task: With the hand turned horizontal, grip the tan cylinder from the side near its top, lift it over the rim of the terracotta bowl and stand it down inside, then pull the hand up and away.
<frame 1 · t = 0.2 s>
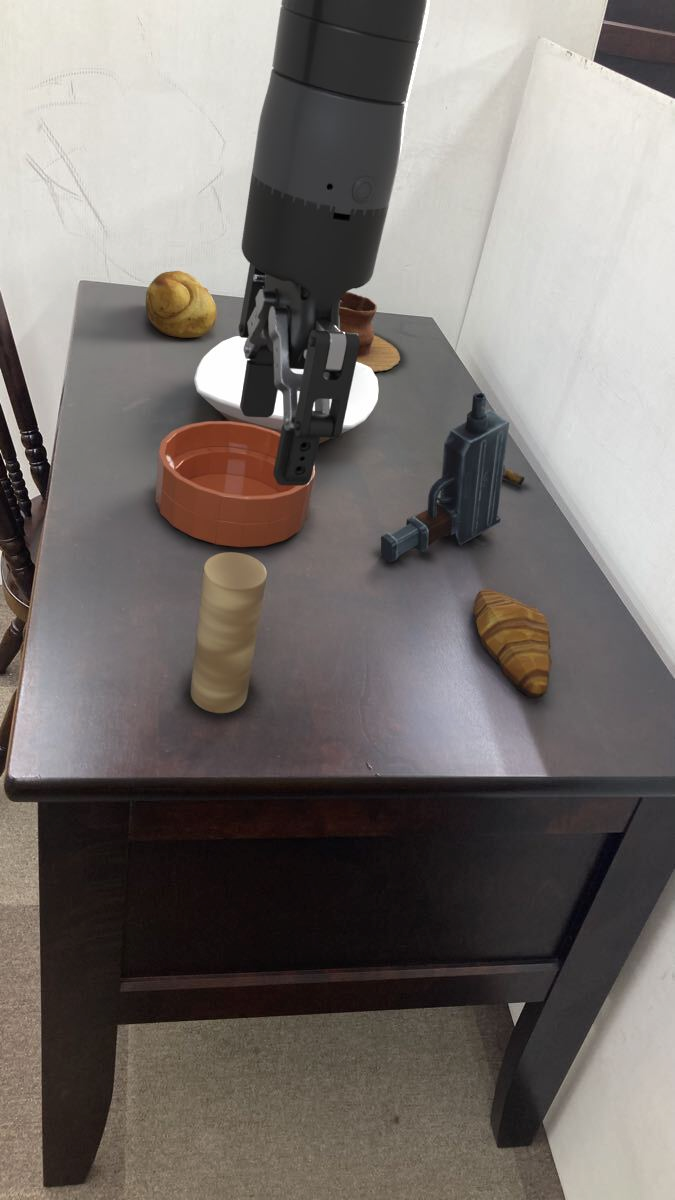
hand: (272, 446, 57), 22 cm above the table, tool pointing down, fingers open, 8 cm apart
clay bowl: (231, 509, 91), on the table
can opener: (489, 471, 108), on the table
bowl: (283, 418, 110), on the table
croissant: (505, 652, 81), on the table
bread roll: (178, 326, 127), on the table
ceramic pot: (341, 348, 132), on the table
tan cylinder: (218, 693, 70), on the table
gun: (436, 544, 93), on the table
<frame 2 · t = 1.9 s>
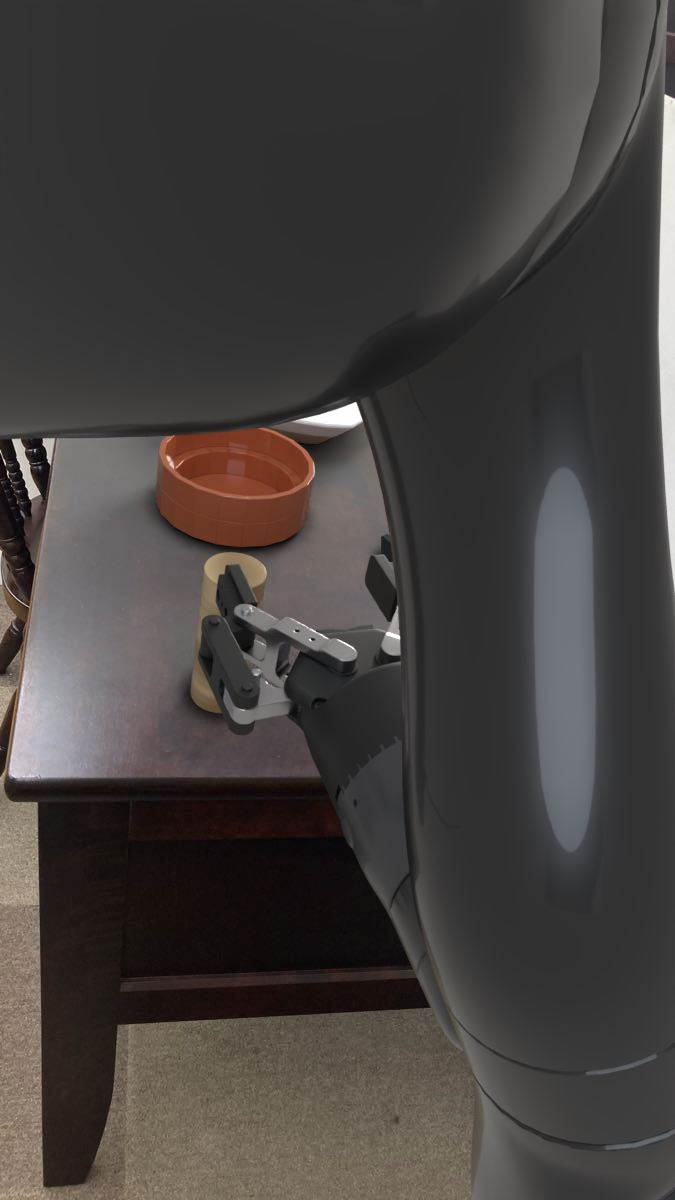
hand: (303, 571, 50), 20 cm above the table, tool horizontal, fingers open, 8 cm apart
nothing on the table moved.
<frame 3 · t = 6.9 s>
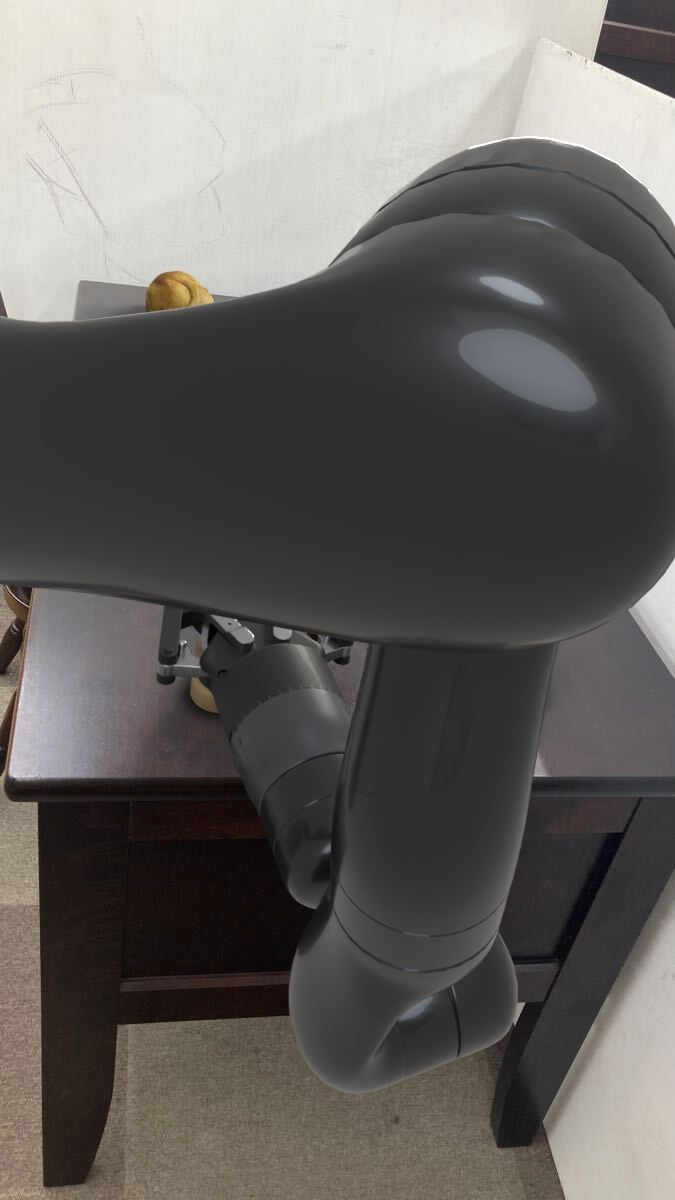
hand: (222, 570, 66), 10 cm above the table, tool horizontal, fingers closed on tan cylinder, 4 cm apart
tan cylinder: (218, 693, 70), on the table, touching gripper
everything else where it was.
when the fingers open (11 cm above the table, at t = 16.2 s): tan cylinder stays where it is, resting on clay bowl.
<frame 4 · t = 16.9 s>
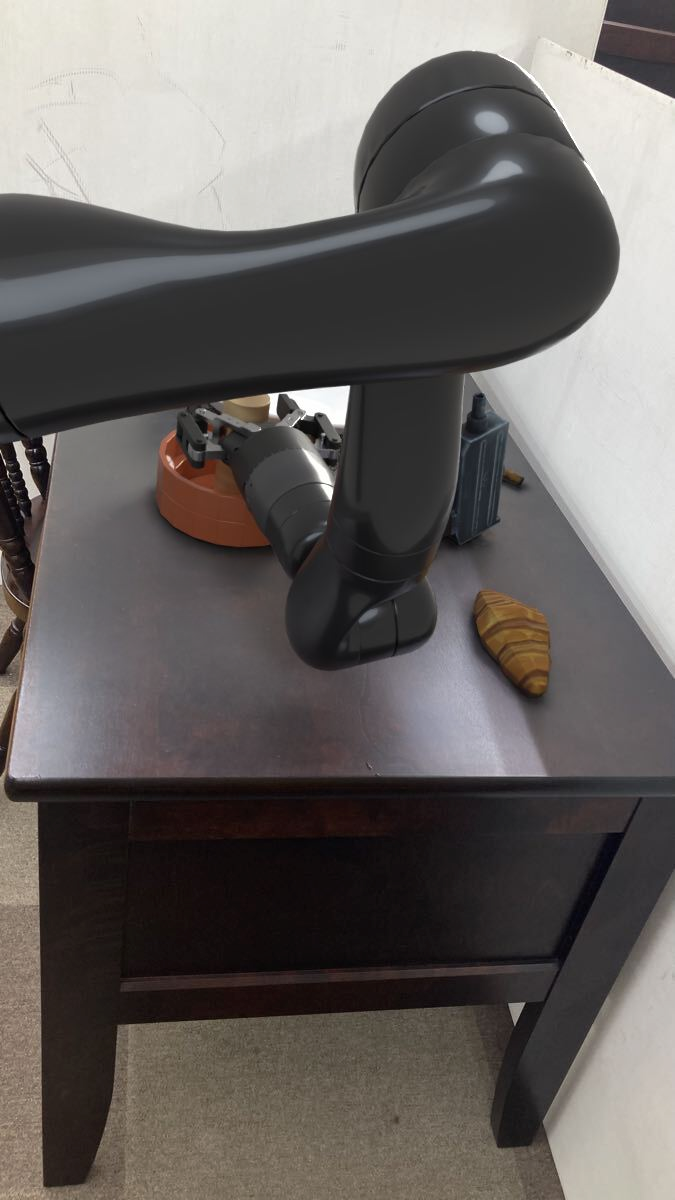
hand: (238, 401, 86), 11 cm above the table, tool horizontal, fingers open, 8 cm apart
tan cylinder: (233, 504, 91), point 1 cm above the table, touching clay bowl
everything else where it was.
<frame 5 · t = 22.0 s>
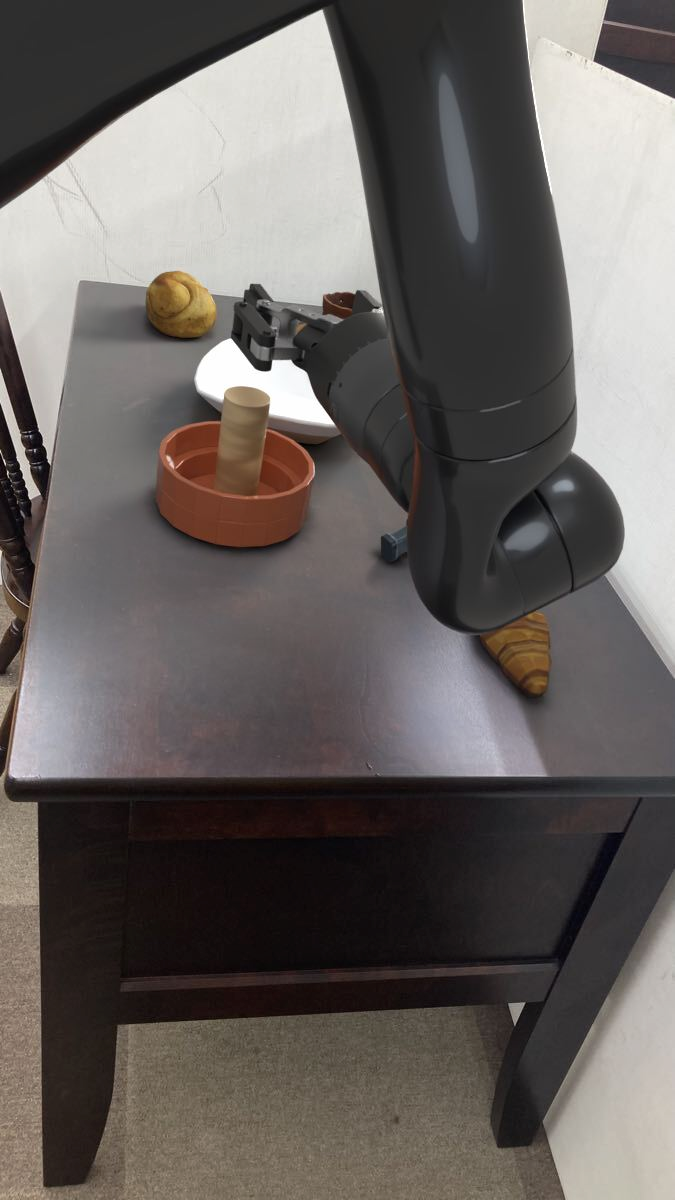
hand: (306, 299, 68), 26 cm above the table, tool horizontal, fingers open, 8 cm apart
nothing on the table moved.
at the end: tan cylinder inside the target area in the clay bowl (0.1 cm from its centre), point 0.6 cm above the clay bowl's base; the gripper is holding nothing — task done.
